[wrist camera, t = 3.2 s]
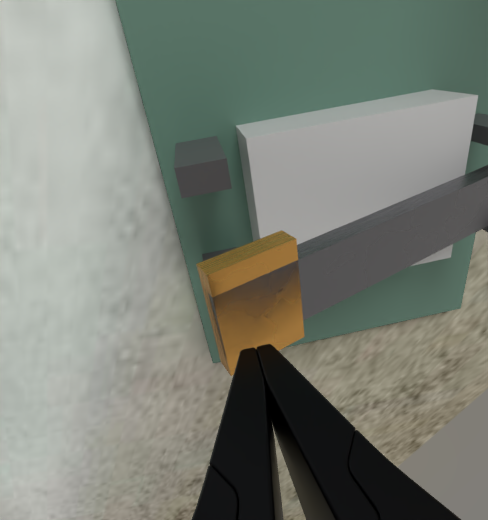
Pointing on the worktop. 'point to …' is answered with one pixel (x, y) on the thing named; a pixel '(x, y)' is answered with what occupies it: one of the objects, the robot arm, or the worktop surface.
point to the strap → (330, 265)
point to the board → (292, 78)
